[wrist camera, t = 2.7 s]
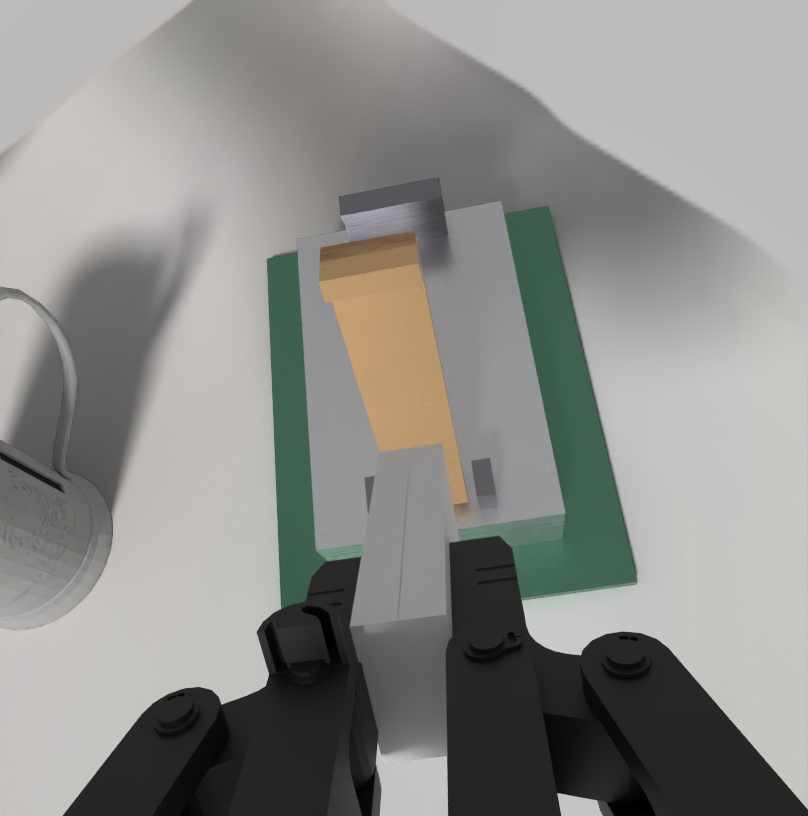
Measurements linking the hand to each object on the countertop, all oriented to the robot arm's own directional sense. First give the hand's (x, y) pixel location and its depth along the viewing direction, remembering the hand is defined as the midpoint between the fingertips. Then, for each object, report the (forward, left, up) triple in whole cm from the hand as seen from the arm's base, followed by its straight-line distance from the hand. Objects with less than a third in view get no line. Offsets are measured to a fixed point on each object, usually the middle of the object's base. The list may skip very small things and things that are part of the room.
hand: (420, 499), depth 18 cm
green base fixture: (-11, +5, -20) cm, 23 cm away
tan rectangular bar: (-7, +3, -9) cm, 11 cm away
